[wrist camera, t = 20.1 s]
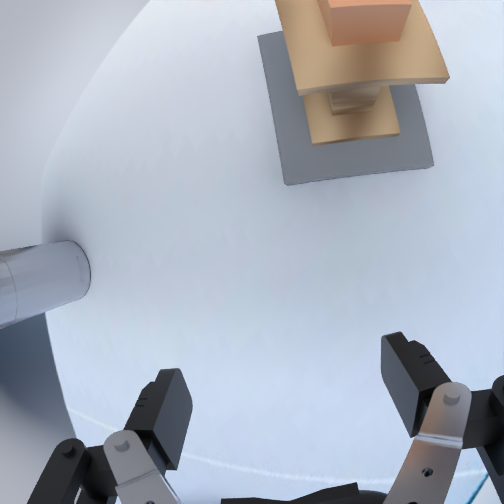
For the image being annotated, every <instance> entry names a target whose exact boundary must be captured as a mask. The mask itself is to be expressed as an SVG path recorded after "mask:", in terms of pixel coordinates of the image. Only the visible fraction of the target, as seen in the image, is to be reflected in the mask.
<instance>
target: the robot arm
mask: <svg viewBox="0 0 504 504" xmlns="http://www.w3.org/2000/svg"><path fill="white" fill-rule="evenodd" d="M89 284H90V268H89V264H88V261H87V258H86V256H85V254H84V252H83V251H82V249H81V248H80V247H79V246H78V245H77V244H75V243H74V242H71V241H62V242H55V243H48V244H42V245H36V246H29V247H24V248H17V249H11V250H6V251H0V329H1V328H4V327H6V326H9V325H11V324H14V323H16V322H19V321H22V320H24V319H27V318H29V317H32V316H35V315H38V314H40V313H43V312H46V311H48V310H51V309H53V308H56V307H59V306H62V305H64V304H67V303H70V302H72V301H75V300H78V299H80V298H82V297H83V296H84V295H85V294H86V292H87V290H88V288H89ZM381 373H382V378H383V381H384V383H385V385H386V387H387V389H388V391H389V393H390V395H391V397H392V399H393V402H394V404H395V406H396V408H397V410H398V412H399V414H400V416H401V418H402V420H403V423H404V425H405V427H406V429H407V431H408V433H409V436H410V438H412V437H415V438H414V440H413V443H412V445H411V448H410V450H409V452H408V454H407V457H406V459H405V461H404V463H403V465H402V467H401V470H400V472H399V474H398V476H397V478H396V480H395V482H394V484H393V486H392V488H391V490H390V491H389V493H388V494H386V493H382V492H377V491H369V490H359V489H358V485H357V482H355V483H351V484H346V485H342V486H337V487H332V488H326V489H322V490H320V491H317V492H314V493H312V494H309V495H306V496H303V497H300V498H297V499H294V500H291V501H280V500H270V499H262V498H255V497H252V498H227V499H221V504H444V501H445V498H446V496H447V493H448V490H449V487H450V484H451V481H452V479H453V475H454V472H455V469H456V466H457V463H458V459H459V456H460V452H461V449H468V448H475V447H476V449H477V451H478V453H479V455H480V457H481V459H482V461H483V463H484V465H485V467H486V469H487V472H488V474H489V476H490V478H491V480H492V482H493V485H494V487H495V489H496V491H497V494H498V496H499V498H500V500H501V503H502V504H504V375H503V376H500V377H498V378H497V379H496V380H495V381H494V383H493V386H492V389H487V390H480V391H470V389H469V388H468V387H467V386H465V385H464V384H461V383H458V382H452V381H451V380H450V379H449V377H448V376H447V375H446V373H445V372H444V371H443V369H442V368H441V367H440V365H439V364H438V363H437V361H435V359H434V357H433V356H432V355H430V352H429V351H428V350H427V348H426V347H425V346H424V345H422V344H420V343H419V342H417V341H415V340H413V341H410V342H408V340H407V339H406V338H405V336H404V335H403V334H402V332H396V333H392V334H388V335H384V336H382V338H381ZM192 407H193V405H192V398H191V395H190V393H189V390H188V388H187V385H186V382H185V380H184V377H183V375H182V372H181V370H180V369H179V368H174V369H161V370H160V371H159V373H158V375H157V378H156V380H155V382H150V383H149V384H148V385H147V386H146V387H145V388H144V389H142V391H141V393H140V396H139V398H138V400H137V402H136V404H135V407H134V408H133V410H132V412H131V414H130V417H129V419H128V421H127V423H126V425H125V427H124V429H123V430H121V431H118V432H115V433H113V434H112V435H110V436H109V437H108V438H107V439H106V441H105V443H104V445H100V446H94V447H87V448H86V446H85V445H84V444H83V442H82V441H81V440H79V439H75V438H71V439H67V440H64V441H62V442H61V443H59V445H57V447H56V448H55V450H54V451H53V453H52V455H51V457H50V459H49V461H48V463H47V465H46V467H45V469H44V470H43V472H42V474H41V476H40V478H39V480H38V482H37V484H36V486H35V488H34V490H33V492H32V494H31V496H30V498H29V500H28V503H27V504H74V500H75V497H76V495H77V492H78V490H79V487H80V488H81V489H82V490H81V493H80V495H79V498H78V500H77V503H76V504H115V502H116V498H117V496H119V498H120V501H121V503H122V504H183V503H182V502H181V500H180V499H179V497H178V496H177V494H176V493H175V491H174V490H173V488H172V487H171V485H170V484H169V482H168V481H167V479H166V478H165V473H166V470H177V468H178V464H179V460H180V456H181V452H182V448H183V444H184V440H185V436H186V433H187V429H188V425H189V421H190V417H191V413H192Z"/></svg>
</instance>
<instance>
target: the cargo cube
mask: <svg viewBox="0 0 504 504" xmlns="http://www.w3.org/2000/svg"><path fill="white" fill-rule="evenodd" d="M317 2H318V5H319V8H320V11H321V14H322V17H323V19H324V22H325V26H326V29H327V32H328V35H329V38H330V41H331V44H332V47H333V46H342V45H352V44H363V43H378V42H399V40H400V37H401V34H402V32H403V29H404V26H405V23H406V20H407V18H408V15H409V12H410V9H411V6H412V3H411V1H410V0H317Z"/></svg>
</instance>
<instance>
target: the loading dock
mask: <svg viewBox="0 0 504 504" xmlns="http://www.w3.org/2000/svg"><path fill="white" fill-rule="evenodd" d="M257 37H258V42H259V47H260V52H261V57H262V62H263V67H264V72H265V77H266V82H267V87H268V92H269V98H270V103H271V108H272V114H273V119H274V125H275V130H276V136H277V142H278V148H279V154H280V160H281V166H282V172H283V178H284V184H286V185H287V186H288V185H295V184H302V183H308V182H315V181H322V180H330V179H337V178H345V177H352V176H360V175H369V174H377V173H386V172H395V171H405V170H415V169H426V168H429V167H432V166H434V162H433V157H432V152H431V147H430V142H429V137H428V133H427V129H426V124H425V120H424V116H423V112H422V108H421V105H420V101H419V97H418V94H417V90H416V87H415V84H406V85H389V89H390V93H391V96H392V100H393V104H394V108H395V111H396V116H397V120H398V124H399V128H400V134H399V135H398V136H395V137H384V138H374V139H365V140H357V141H349V142H341V143H333V144H326V145H319V146H313V145H312V140H311V135H310V130H309V125H308V120H307V115H306V110H305V105H304V100H303V96H299V95H298V91H297V87H296V83H295V78H294V74H293V70H292V65H291V61H290V57H289V53H288V49H287V45H286V41H285V37H284V33H283V31H279V32H274V33H269V34H265V35H260V36H257Z"/></svg>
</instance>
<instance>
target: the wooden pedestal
mask: <svg viewBox="0 0 504 504" xmlns="http://www.w3.org/2000/svg"><path fill="white" fill-rule="evenodd" d="M410 1H411V3H412V6H411V9H410V12H409V15H408V18H407V20H406V23H405V26H404V29H403V32H402V34H401V37H400V40H399V42H378V43H363V44H352V45H342V46H333V47H332V44H331V41H330V38H329V35H328V32H327V29H326V26H325V22H324V19H323V17H322V14H321V11H320V8H319V5H318V2H317V0H275V3H276V6H277V10H278V14H279V17H280V21H281V25H282V29H283V33H284V37H285V41H286V45H287V49H288V53H289V57H290V61H291V65H292V70H293V74H294V78H295V83H296V87H297V91H298V95H299V96H303V100H304V105H305V110H306V115H307V120H308V125H309V130H310V135H311V140H312V145H313V146H319V145H326V144H333V143H341V142H349V141H357V140H365V139H374V138H384V137H395V136H398V135H399V134H400V128H399V124H398V120H397V116H396V111H395V108H394V104H393V100H392V96H391V93H390V89H389V85H406V84H445V83H446V81H447V80H448V79H449V78H450V76H449V73H448V71H447V68H446V65H445V62H444V59H443V57H442V54H441V51H440V49H439V46H438V44H437V41H436V39H435V36H434V34H433V32H432V29H431V27H430V25H429V22H428V20H427V18H426V16H425V14H424V12H423V9H422V7H421V5H420V3H419V1H418V0H410Z"/></svg>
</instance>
